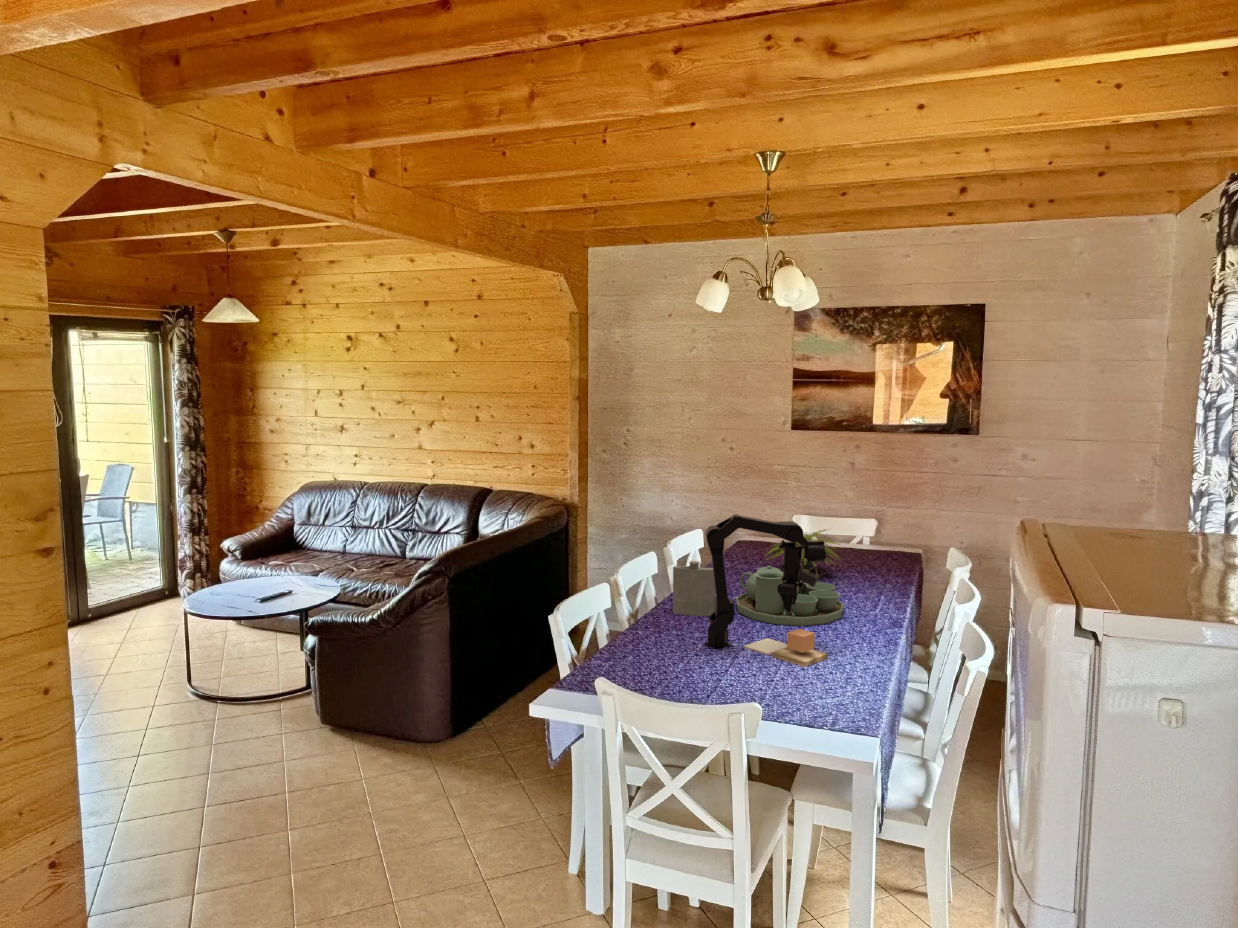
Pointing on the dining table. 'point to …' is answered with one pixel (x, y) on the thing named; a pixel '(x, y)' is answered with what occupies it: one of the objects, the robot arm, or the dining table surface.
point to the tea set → (769, 607)
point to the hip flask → (693, 590)
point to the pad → (766, 646)
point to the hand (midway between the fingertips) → (791, 608)
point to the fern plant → (805, 563)
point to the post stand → (800, 656)
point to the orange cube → (800, 640)
